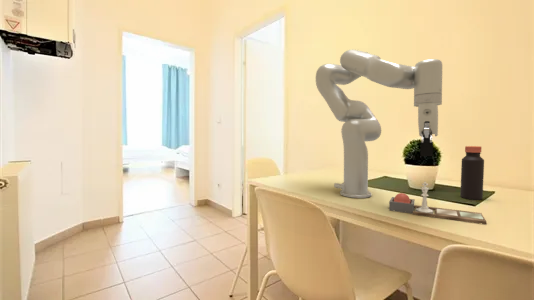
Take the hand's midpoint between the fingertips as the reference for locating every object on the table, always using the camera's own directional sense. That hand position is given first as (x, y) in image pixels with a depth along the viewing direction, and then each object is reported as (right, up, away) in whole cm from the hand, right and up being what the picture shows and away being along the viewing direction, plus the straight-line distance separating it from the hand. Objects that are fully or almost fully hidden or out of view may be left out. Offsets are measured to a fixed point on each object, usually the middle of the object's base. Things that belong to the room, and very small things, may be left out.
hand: (426, 154), depth 83 cm
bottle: (+28, -17, +18) cm, 38 cm away
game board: (+5, -19, -2) cm, 20 cm away
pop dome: (-5, -18, +5) cm, 19 cm away
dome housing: (-5, -19, +5) cm, 20 cm away
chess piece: (0, -19, +2) cm, 19 cm away
